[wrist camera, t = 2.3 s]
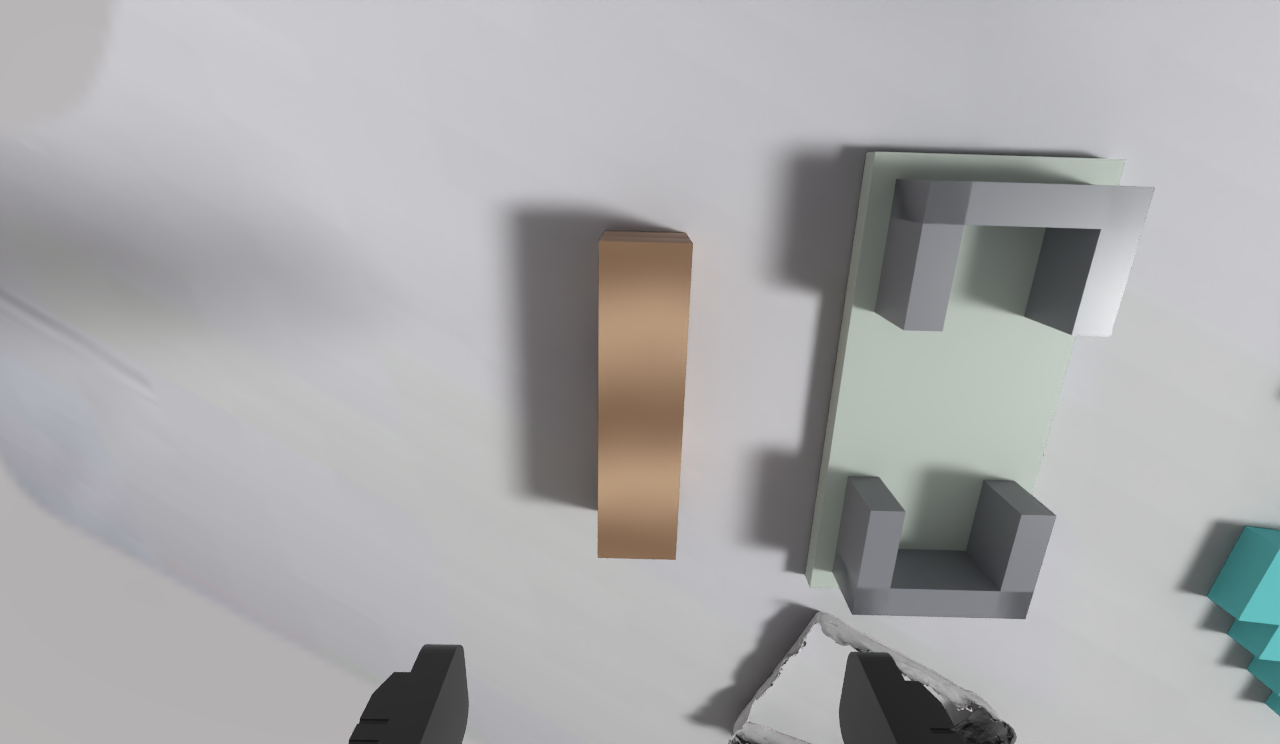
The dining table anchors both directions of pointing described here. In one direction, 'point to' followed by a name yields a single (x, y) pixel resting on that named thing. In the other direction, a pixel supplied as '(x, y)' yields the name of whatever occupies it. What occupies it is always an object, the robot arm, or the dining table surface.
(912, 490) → the cradle board
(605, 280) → the slat
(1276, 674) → the alien figure
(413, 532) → the dining table surface
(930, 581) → the end caps
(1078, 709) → the dining table surface
